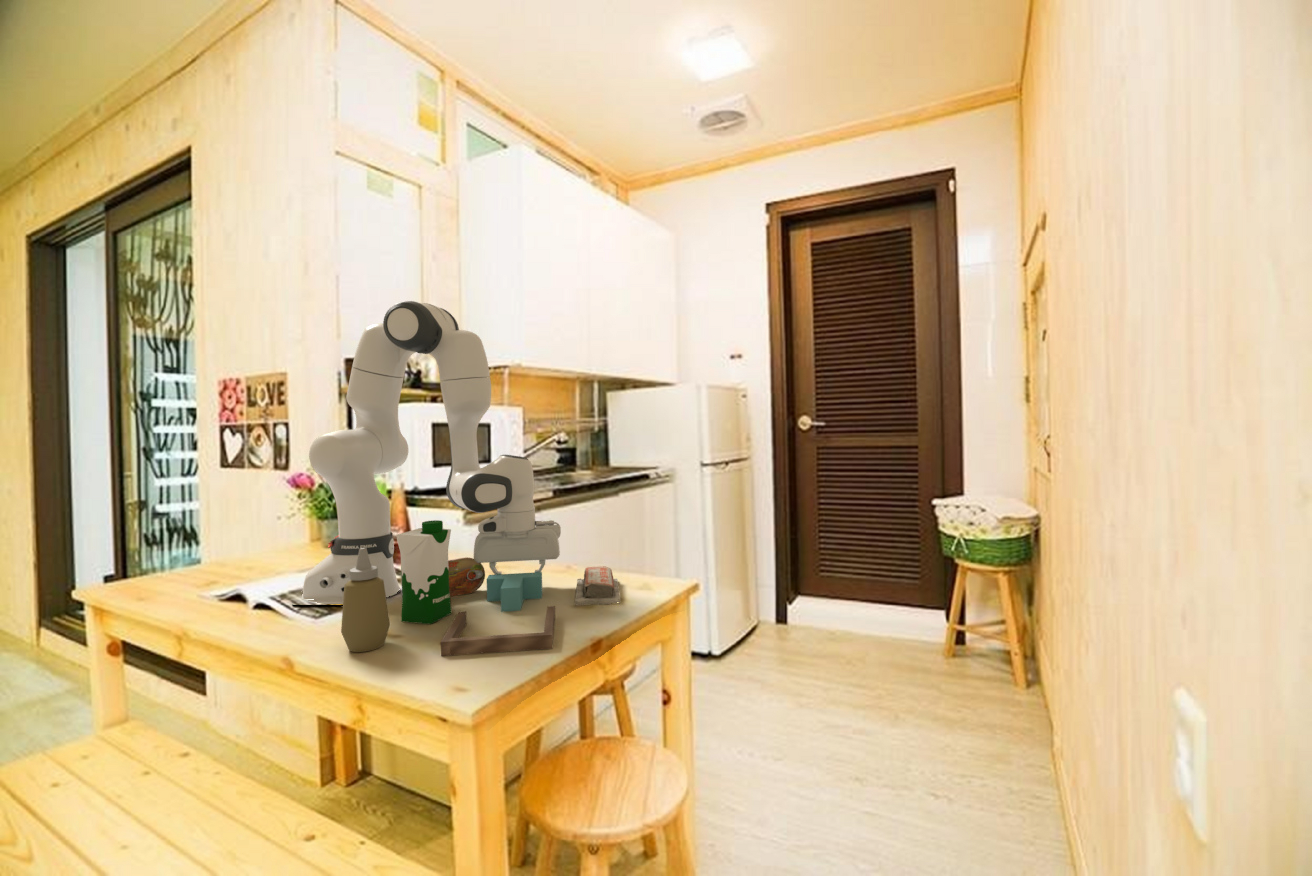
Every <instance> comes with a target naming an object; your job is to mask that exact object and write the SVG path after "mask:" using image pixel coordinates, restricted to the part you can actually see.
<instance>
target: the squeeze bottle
mask: <svg viewBox="0 0 1312 876" xmlns="http://www.w3.org/2000/svg"><path fill="white" fill-rule="evenodd" d="M349 573H350V581H348V582H347V583H346V584H345V586H344V598H343V606H342V613H341V614H342V617H341V629H340V632H341V636H342V638H343V639H344V642H345V645H346V646H347V649H348V651H351V652H355V653H363V652H370V651H374V650H377V649H379V648H381V647H383V646H384V645H385V642H386V639H387V636H388V632H389V629H390V625H391V624H390V623H391V622H390V616H389V608H388V602H387V601H388V600H387V598H386V594H385V587H384V580H383V579H381V578H379V577H377V576H378V567H376V566H371V563H370V559H369V556H368V552H367V549H366V548H360V549H359V553H358V559H357V564H356V568H352V569H350V571H349Z"/></svg>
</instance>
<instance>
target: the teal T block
mask: <svg viewBox="0 0 1312 876" xmlns="http://www.w3.org/2000/svg"><path fill="white" fill-rule="evenodd" d="M542 597H543V572H542V571H541V572H535V571H534V572H522V573H521V572H518V573H517V572H515V573H502V574H496V575H494V574H488V576H487V577H486V601H487V602H500V612H501V613H502V612H503V613H504V612H505V613H506V612H516V611H518V612H520V611H521V610H522V606H523V604H524V600H535V599H537V600H538V599H542Z"/></svg>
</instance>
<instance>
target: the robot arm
mask: <svg viewBox="0 0 1312 876" xmlns="http://www.w3.org/2000/svg"><path fill="white" fill-rule="evenodd" d="M414 354H424V355H428V354H429V355H431V356H432V357H433V359H435V361H436V363H437V368H438V374H439V381H440V382H439V385H440V391H441V397H442V401H443V405H444V410H445V415H446V420H447V421H446V422H447V425H448V426H447V427H448V434H449V435H448V436H449V447H450V448H449V449H450V450H449V451H450V462H451V463H450V464H451V467H450V471H449V475H448V478H447V481H446V487H445V488H446V489H445V490H446V491H445V492H446V495H447V498H448V500H449V502H450V503H451V504H452V505H454V506H455V507H457V508H459V509H462V510H467V511H470V512H473V513H477V514H478V513H479V514H481V513H488V512H491V511H494V510H497V514H496V515H495V516H491V517H488V518H485V519H483V520H482V521H480V522H479V524H478V526H477V531H478V532H479V533H477V535H476V536H475V540H474V544H473V559H475V561H476V562H477V563H481V564H482V563H483V564H485V563H489V564H488V566H489V568H490V570H491V572H492V573H493V575H496V574H503V573H502V571H499V570H498V569H497V567H496V566H497V563H505V562H506V563H507V562H523V561H524V562H527V561H529V562H530V561H538V563H539V565H540V566H539V567H538V569H534V572H542V571H543V569H544V567H545V565H546V562H547V561H548V560H557V559H558V558H559V557H560V556H561V549H560V548H561V547H560V541H559V540H560V539H559V538H560V537H561V532H562V531H561V525H560V524H559V523H558V522H556V521H555V520H536V507H535V504H534V503H535V502H534V494H535V480H534V479H535V476H534V469H533V465H532V462H531V461H530V459H528V458H527V457H525V456H520V455H519V456H518V455H512V454H500V455H499V456H498V457H497V458H496V459H494V460H493V461H492V462H490V463H488V464H486V465H485V466H483V467H481V466H480V463H479V451H478V450H479V448H478V437H477V431H478V427H479V424H480V422H481V420H482V419H483V417H484V415H485V414H486V413H487V412H488V411H489V408H490V407H491V401H492V383H491V374H490V368H489V362H488V357H487V354H486V350H485V347H484V344H483V341H482V339H481V338H480V336H479V335H477V333H474V332H473V331H469V330H465V329H460V327H459V324H458V321H457V320H456V318H455V317H454V316H453V315H452V313H450V312H449V311H447V309H444V308H442V307H438V306H436V305H433V304H431V303H427V302H417V301H414V300H407V301H406V300H405V301H399V302H397V303H395V304H393V305H392V306H391V307H390V308H389V309H387V311H386V313H385V314H384V317H383V323H373V324H371V325H368V326H367V327H366V328H364V331H363V333H362V335H361V337H360V338H359V342H358V343H357V347H356V351H355V354H354V357H353V362H352V365H351V370H350V376H349V382H348V387H347V392H346V395H345V397H346V402H347V404H348V405H349V407H351V409H353V411H354V414H355V420H356V421H355V422H356V426H355V429H338V430H334V431H332V432H331V431H330V432H327V433H325V434H321V435H320V436H318V437H316V438H315V439H314V440H313V442H312V443H311V445H310V447H309V453H308V459H309V462H310V465H311V467H312V470H314V472H315V473H317V475H319V476H320V477H322V478H323V479H324V480H325V481H326V483H327V485H328V486H329V488H330V490H331V493H332V495H333V498H334V501H335V504H336V513H337V527H338V535H337V536H335V537H333V539H332V540H330V542H328V543H327V545H328V546H327V548H328V549H330V554H328V555H327V556H326V557H325V558H323V559H322V560H320V562H319V563H317V564H316V565H315V566H314V567H312V568H311V569H310V570H309V571H308V572H307V573H306V575H305V577H304V582H303V585H302V591H303V594H302V599H314V600H308V601H310V602H317V603H324V604H343V598H344V586H345V584H346V583H347V582H348V581H350V573H349V571H350V569H352V568H356V564H357V559H358V553H359V549H360V548H366V549H367V552H368V556H369V559H370V563H371V566H376V567H378V576H377V577H379V578H381V579H383V580H384V587H385V594H386V597H387V598H389V596H390V597H393V596H394V595H396V594H398V593H399V592H400V591H399V589H400V590H401V587H400V585H399V582H398V578H397V574H396V571H395V564H394V557H393V556H394V554H395V553H394V551H395V546H394V545H395V542H394V540H395V539H394V535H393V531H392V529H391V510H390V509H391V505H390V500H389V498H388V497H387V496H386V495H384V494H383V493H381V491H380V490H379V488H378V486H377V482H376V480H375V475H379V474H385V473H389V472H390V471H393V470H395V469H397V468H399V467H401V466H402V465H404V463H405V462H406V461H407V459H408V456H409V445H408V442H407V440H406V438H405V437H404V435H403V434H402V432H401V430H400V429H401V428H400V422H399V404H400V400H401V399H400V398H401V394H402V393H401V392H402V389H403V382H404V378H405V373H406V368H407V364H408V361H409V359H410V357H411V356H412V355H414ZM546 560H547V561H546ZM398 591H399V592H398ZM397 592H398V593H397Z"/></svg>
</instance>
